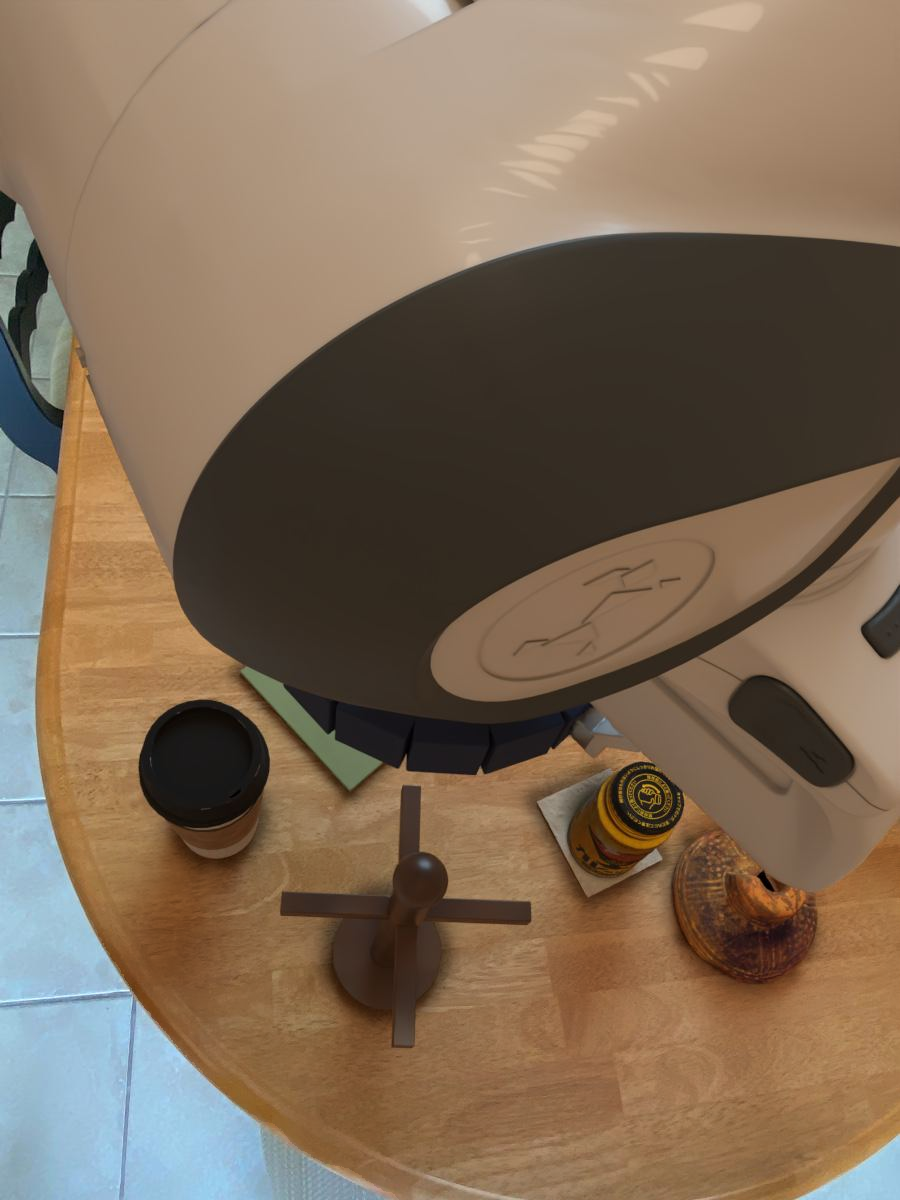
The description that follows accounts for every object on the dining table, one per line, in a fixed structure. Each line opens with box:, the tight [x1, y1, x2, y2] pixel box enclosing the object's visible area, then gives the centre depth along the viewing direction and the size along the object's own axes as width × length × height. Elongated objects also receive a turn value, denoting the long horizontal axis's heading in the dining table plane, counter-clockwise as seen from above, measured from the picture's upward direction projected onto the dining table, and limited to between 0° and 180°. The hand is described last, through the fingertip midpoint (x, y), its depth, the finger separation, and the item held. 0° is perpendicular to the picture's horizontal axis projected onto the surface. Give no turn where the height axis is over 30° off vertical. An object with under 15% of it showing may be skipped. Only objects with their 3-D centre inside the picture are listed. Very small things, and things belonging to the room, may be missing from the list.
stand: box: [279, 784, 532, 1049], centre depth 57 cm, size 11×11×24 cm
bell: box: [672, 827, 818, 984], centre depth 70 cm, size 12×12×7 cm
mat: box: [239, 666, 385, 793], centre depth 78 cm, size 14×14×1 cm
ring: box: [283, 684, 592, 776], centre depth 37 cm, size 15×15×3 cm
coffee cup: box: [137, 698, 271, 859], centre depth 64 cm, size 8×8×15 cm
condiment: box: [536, 761, 685, 898], centre depth 69 cm, size 7×8×12 cm
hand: (561, 704), depth 36 cm, fingers closed on ring, 2 cm apart
